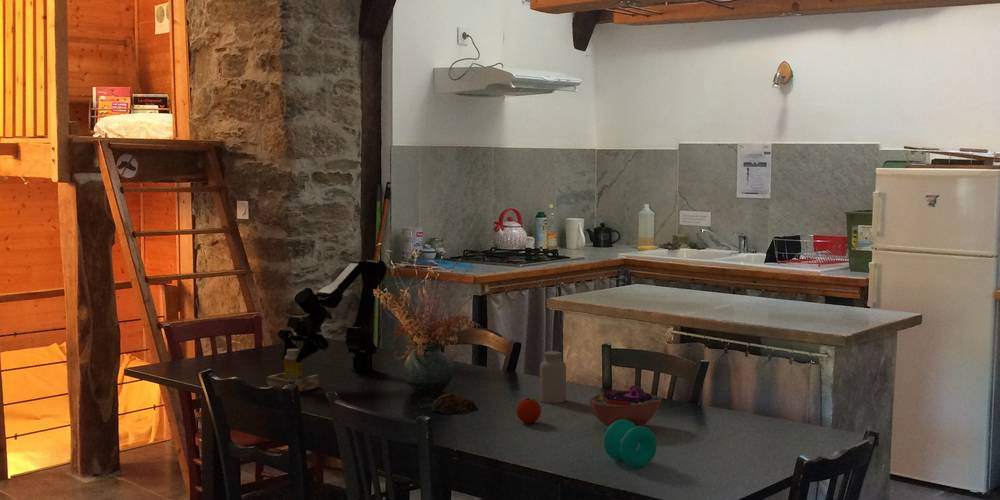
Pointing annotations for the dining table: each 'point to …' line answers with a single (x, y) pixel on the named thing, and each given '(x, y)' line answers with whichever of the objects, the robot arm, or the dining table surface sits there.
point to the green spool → (630, 443)
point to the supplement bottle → (292, 365)
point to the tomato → (528, 410)
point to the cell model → (625, 406)
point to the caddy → (293, 381)
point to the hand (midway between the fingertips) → (290, 360)
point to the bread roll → (452, 404)
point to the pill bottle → (552, 378)
